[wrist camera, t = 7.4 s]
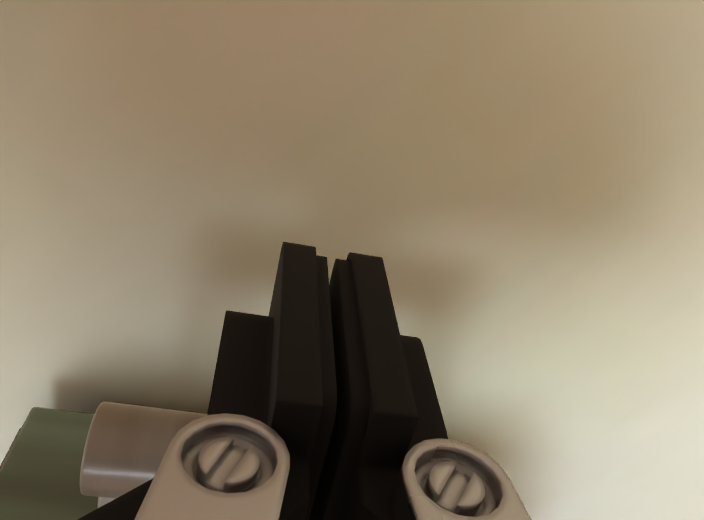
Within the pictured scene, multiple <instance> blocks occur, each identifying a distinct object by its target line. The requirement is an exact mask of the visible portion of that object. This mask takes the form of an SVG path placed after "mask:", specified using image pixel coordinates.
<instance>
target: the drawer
mask: <svg viewBox="0 0 704 520" xmlns="http://www.w3.org/2000/svg"><path fill="white" fill-rule="evenodd" d="M205 416H207V414H202V413H194V412H186V411H178V410H170V409H162V408H154V407H146V406H138V405H130V404H122V403H114V402H106V401H104V402H101V403H100V405H99V406H98V408H97V410H96V412H95V414H88V413H80V412H72V411H64V410H55V409H47V408H39V407H34V408H32V409H31V411H30V413H29V415H28V417H27V419H26V421H25V423H24V425H23V426H22V428H21V430H20V432H19V434H18V436H17V438H16V440H15V442H14V444H13V446H12V447H11V449H10V451H9V453H8V455H7V457H6V459H5V461H4V463H3V465H2V467H1V468H0V520H77V519H79V518H81V517H83V516H85V515H87V514H88V513H90V512H92V511H94V510H96V509H98V508H99V507H101V506H103V505H105V504H107V503H109V502H110V501H112V500H114V499H116V498H118V497H120V496H121V495H123V494H125V493H127V492H129V491H131V490H132V489H134V488H136V487H138V486H140V485H142V484H143V483H145V482H147V481H149V480H151V479H153V478H154V476H155V474H156V472H157V470H158V468H159V466H160V463H161V461H162V459H163V457H164V455H165V453H166V450H167V448H168V446H169V444H170V442H171V441H172V439H173V438H174V436H175V435H176V434H177V432H178V431H179V430H180V429H181V428H183V427H184V426H186V425H187V424H188V423H190V422H191V421H193V420H196V419H199V418H202V417H205Z"/></svg>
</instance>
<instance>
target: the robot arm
mask: <svg viewBox="0 0 704 520" xmlns="http://www.w3.org/2000/svg"><path fill="white" fill-rule="evenodd" d="M77 520H531V518H530V516H529V515H528V513H527V511H526V509H525V507H524V505H523V503H522V501H521V500H520V498H519V496H518V494H517V492H516V490H515V488H514V486H513V484H512V483H511V481H510V479H509V478H508V476H507V475H506V473H505V472H504V471H503V469H502V468H501V466H500V465H499V464H497V463H496V462H495V461H494V460H493V459H492V458H491V457H490V456H488V455H487V454H486V453H484V452H482V451H480V450H479V449H477V448H475V447H473V446H471V445H469V444H466V443H463V442H460V441H457V440H451V439H448V436H447V432H446V428H445V425H444V421H443V417H442V414H441V410H440V406H439V403H438V399H437V395H436V392H435V388H434V384H433V381H432V377H431V374H430V370H429V366H428V363H427V359H426V355H425V352H424V348H423V345H422V342H421V340H420V339H419V338H417V337H410V336H403V335H400V333H399V328H398V324H397V320H396V315H395V311H394V307H393V302H392V298H391V293H390V289H389V285H388V280H387V276H386V272H385V267H384V263H383V259H382V258H381V257H375V256H369V255H363V254H356V253H349V254H348V257H347V260H341V259H336V260H335V263H334V267H333V271H332V275H331V279H330V284H329V278H328V265H327V257H322V256H316V247H313V246H306V245H300V244H294V243H288V242H283V244H282V249H281V253H280V259H279V264H278V269H277V275H276V280H275V285H274V291H273V296H272V301H271V307H270V312H269V316H261V315H254V314H247V313H240V312H233V311H226V314H225V319H224V325H223V330H222V336H221V341H220V347H219V353H218V358H217V364H216V369H215V375H214V380H213V386H212V392H211V397H210V403H209V408H208V414H207V416H205V417H202V418H199V419H196V420H193V421H191V422H190V423H188V424H187V425H186V426H184V427H183V428H181V429H180V430H179V431H178V432H177V434H176V435H175V436H174V438H173V439H172V441H171V442H170V444H169V446H168V448H167V450H166V453H165V455H164V457H163V459H162V461H161V463H160V466H159V468H158V470H157V472H156V474H155V476H154V478H153V479H151V480H149V481H147V482H145V483H143V484H142V485H140V486H138V487H136V488H134V489H132V490H131V491H129V492H127V493H125V494H123V495H121V496H120V497H118V498H116V499H114V500H112V501H110V502H109V503H107V504H105V505H103V506H101V507H99V508H98V509H96V510H94V511H92V512H90V513H88V514H87V515H85V516H83V517H81V518H79V519H77Z"/></svg>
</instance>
